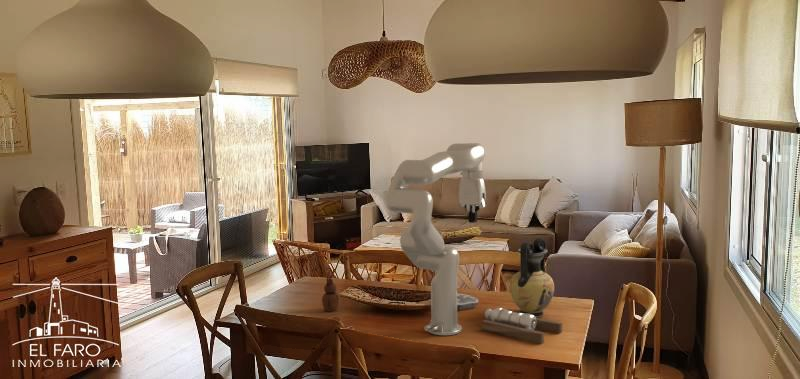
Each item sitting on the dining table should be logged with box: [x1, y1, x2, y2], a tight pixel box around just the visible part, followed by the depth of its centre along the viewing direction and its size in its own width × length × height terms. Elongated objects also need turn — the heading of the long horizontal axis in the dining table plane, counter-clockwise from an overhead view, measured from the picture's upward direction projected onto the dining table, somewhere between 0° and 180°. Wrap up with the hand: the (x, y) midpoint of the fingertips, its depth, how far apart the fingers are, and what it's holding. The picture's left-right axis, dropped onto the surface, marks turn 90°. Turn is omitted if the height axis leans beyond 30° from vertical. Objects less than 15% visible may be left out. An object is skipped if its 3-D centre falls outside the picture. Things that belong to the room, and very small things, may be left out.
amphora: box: [509, 237, 555, 318], centre depth 253 cm, size 18×17×30 cm
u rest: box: [481, 317, 563, 345], centre depth 234 cm, size 16×24×4 cm, turn 49°
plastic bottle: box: [484, 307, 537, 331], centre depth 237 cm, size 6×7×20 cm
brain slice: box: [457, 293, 480, 311], centre depth 269 cm, size 20×17×3 cm
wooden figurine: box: [321, 275, 340, 313], centre depth 264 cm, size 7×6×15 cm
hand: (472, 222), depth 251 cm, fingers closed
